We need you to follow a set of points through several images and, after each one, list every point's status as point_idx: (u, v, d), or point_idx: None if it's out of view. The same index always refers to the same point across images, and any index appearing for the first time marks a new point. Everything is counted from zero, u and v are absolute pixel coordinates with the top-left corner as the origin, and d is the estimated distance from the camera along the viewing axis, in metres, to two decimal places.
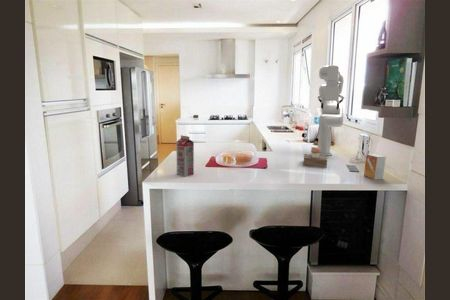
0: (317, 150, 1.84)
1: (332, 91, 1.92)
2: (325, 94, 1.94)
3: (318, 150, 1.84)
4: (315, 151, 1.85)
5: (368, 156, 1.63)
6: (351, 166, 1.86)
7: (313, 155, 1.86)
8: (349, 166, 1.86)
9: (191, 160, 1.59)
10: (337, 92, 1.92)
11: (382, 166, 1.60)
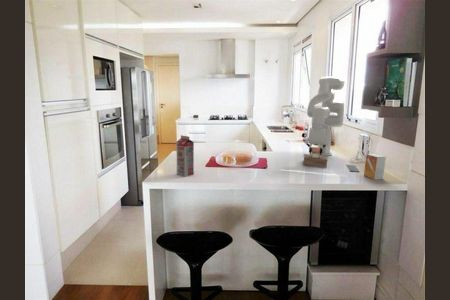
0: (317, 150, 1.84)
1: (318, 134, 1.82)
2: (310, 137, 1.84)
3: (318, 150, 1.84)
4: (315, 151, 1.85)
5: (368, 156, 1.63)
6: (351, 166, 1.86)
7: (313, 155, 1.86)
8: (349, 166, 1.86)
9: (191, 160, 1.59)
10: (323, 135, 1.82)
11: (382, 166, 1.60)
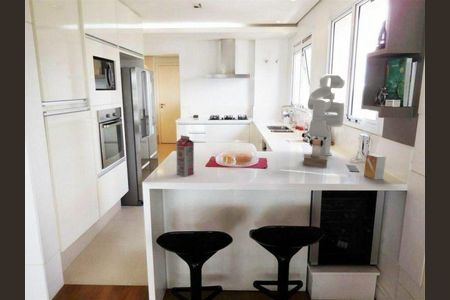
0: (318, 142, 1.83)
1: (318, 127, 1.82)
2: (311, 129, 1.83)
3: (319, 142, 1.84)
4: (315, 144, 1.84)
5: (368, 156, 1.63)
6: (351, 166, 1.86)
7: (314, 147, 1.85)
8: (349, 166, 1.86)
9: (191, 160, 1.59)
10: (323, 128, 1.81)
11: (382, 166, 1.60)
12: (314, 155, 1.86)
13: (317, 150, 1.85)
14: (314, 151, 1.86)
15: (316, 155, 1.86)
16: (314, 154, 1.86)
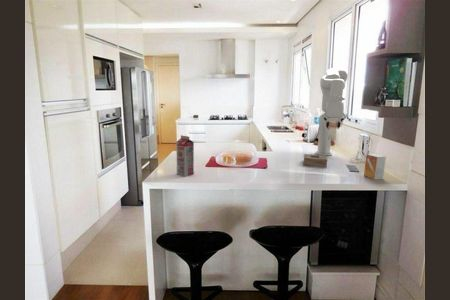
0: (335, 124, 1.78)
1: (335, 108, 1.77)
2: (328, 111, 1.79)
3: (336, 124, 1.79)
4: (332, 125, 1.79)
5: (368, 156, 1.63)
6: (351, 166, 1.86)
7: (330, 129, 1.80)
8: (349, 166, 1.86)
9: (191, 160, 1.59)
10: (341, 108, 1.76)
11: (382, 166, 1.60)
12: (331, 137, 1.81)
13: (334, 132, 1.80)
14: (331, 133, 1.80)
15: (333, 137, 1.80)
16: (331, 136, 1.81)
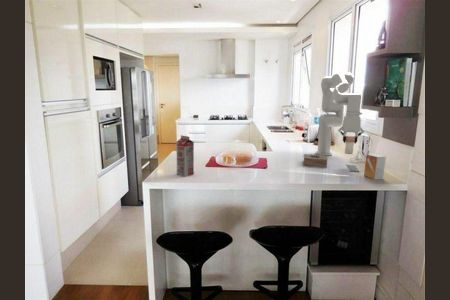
0: (352, 138, 1.77)
1: (353, 122, 1.75)
2: (345, 125, 1.77)
3: (353, 138, 1.77)
4: (349, 140, 1.77)
5: (368, 156, 1.63)
6: (351, 166, 1.86)
7: (348, 144, 1.79)
8: (349, 166, 1.86)
9: (191, 160, 1.59)
10: (358, 123, 1.75)
11: (382, 166, 1.60)
12: (348, 151, 1.79)
13: (351, 147, 1.78)
14: (348, 148, 1.79)
15: (350, 152, 1.79)
16: (348, 151, 1.79)
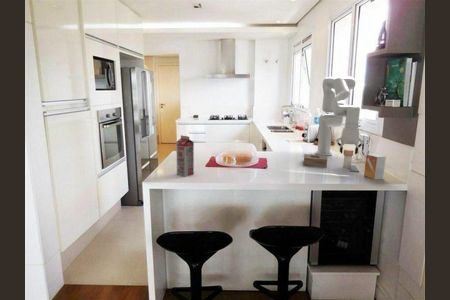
0: (350, 153, 1.79)
1: (352, 134, 1.77)
2: (344, 137, 1.79)
3: (351, 153, 1.79)
4: (348, 154, 1.80)
5: (368, 156, 1.63)
6: (351, 166, 1.86)
7: (346, 158, 1.81)
8: None
9: (191, 160, 1.59)
10: (357, 135, 1.76)
11: (382, 166, 1.60)
12: (346, 165, 1.81)
13: (349, 161, 1.81)
14: (346, 162, 1.81)
15: (348, 166, 1.81)
16: (346, 165, 1.81)
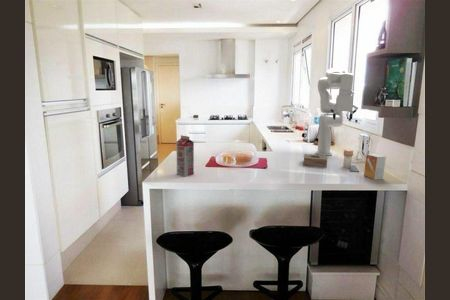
0: (350, 153, 1.79)
1: (345, 101, 1.82)
2: (338, 104, 1.84)
3: (351, 153, 1.79)
4: (347, 154, 1.79)
5: (368, 156, 1.63)
6: (351, 166, 1.86)
7: (346, 158, 1.81)
8: None
9: (191, 160, 1.59)
10: (350, 102, 1.81)
11: (382, 166, 1.60)
12: (346, 166, 1.81)
13: (349, 161, 1.80)
14: (346, 162, 1.81)
15: (348, 166, 1.81)
16: (346, 165, 1.81)
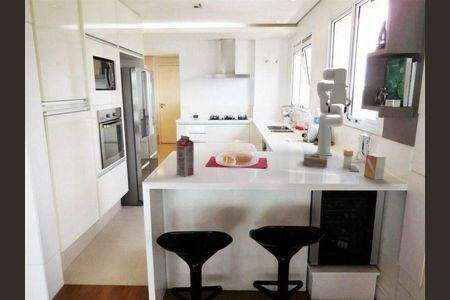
0: (350, 153, 1.79)
1: (339, 94, 1.87)
2: (332, 97, 1.89)
3: (351, 153, 1.79)
4: (348, 154, 1.79)
5: (368, 156, 1.63)
6: (351, 166, 1.86)
7: (346, 158, 1.81)
8: None
9: (191, 160, 1.59)
10: (344, 95, 1.86)
11: (382, 166, 1.60)
12: (346, 166, 1.81)
13: (349, 161, 1.80)
14: (346, 162, 1.81)
15: (348, 166, 1.81)
16: (346, 165, 1.81)
